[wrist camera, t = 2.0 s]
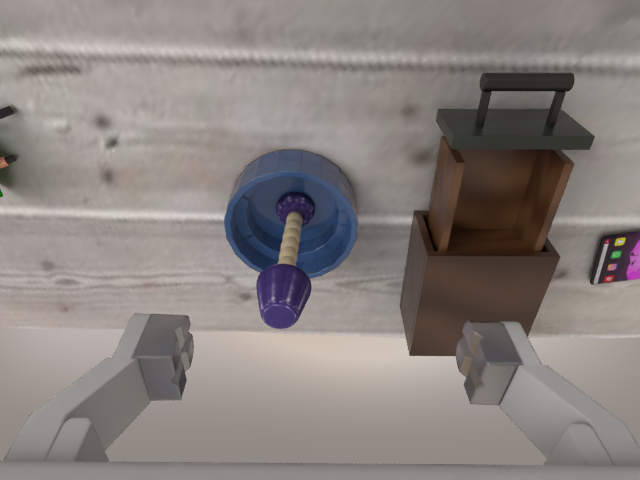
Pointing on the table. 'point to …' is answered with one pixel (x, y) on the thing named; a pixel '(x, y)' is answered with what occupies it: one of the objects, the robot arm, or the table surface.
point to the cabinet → (467, 290)
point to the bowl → (267, 230)
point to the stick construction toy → (5, 162)
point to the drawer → (503, 168)
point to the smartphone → (617, 259)
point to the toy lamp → (286, 267)
